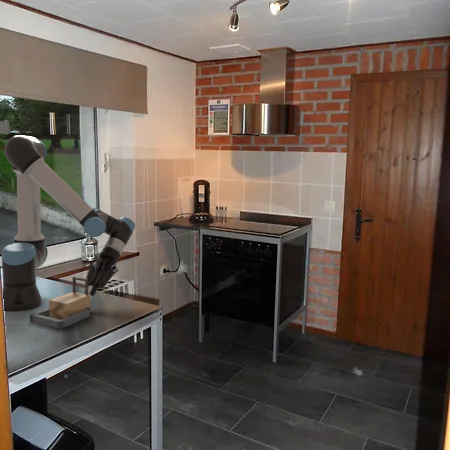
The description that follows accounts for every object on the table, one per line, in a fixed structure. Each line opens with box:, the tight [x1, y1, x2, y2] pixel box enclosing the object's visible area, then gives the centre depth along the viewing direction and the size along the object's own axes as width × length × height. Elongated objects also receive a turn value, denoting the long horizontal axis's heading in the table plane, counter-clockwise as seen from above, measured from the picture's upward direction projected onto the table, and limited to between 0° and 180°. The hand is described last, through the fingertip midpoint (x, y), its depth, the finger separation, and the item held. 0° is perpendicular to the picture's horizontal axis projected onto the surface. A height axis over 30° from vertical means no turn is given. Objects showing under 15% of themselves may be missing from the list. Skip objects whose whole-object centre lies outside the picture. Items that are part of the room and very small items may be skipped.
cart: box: [48, 276, 91, 320], centre depth 166 cm, size 9×12×13 cm
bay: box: [29, 307, 91, 330], centre depth 163 cm, size 14×14×2 cm
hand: (84, 302), depth 173 cm, fingers closed
